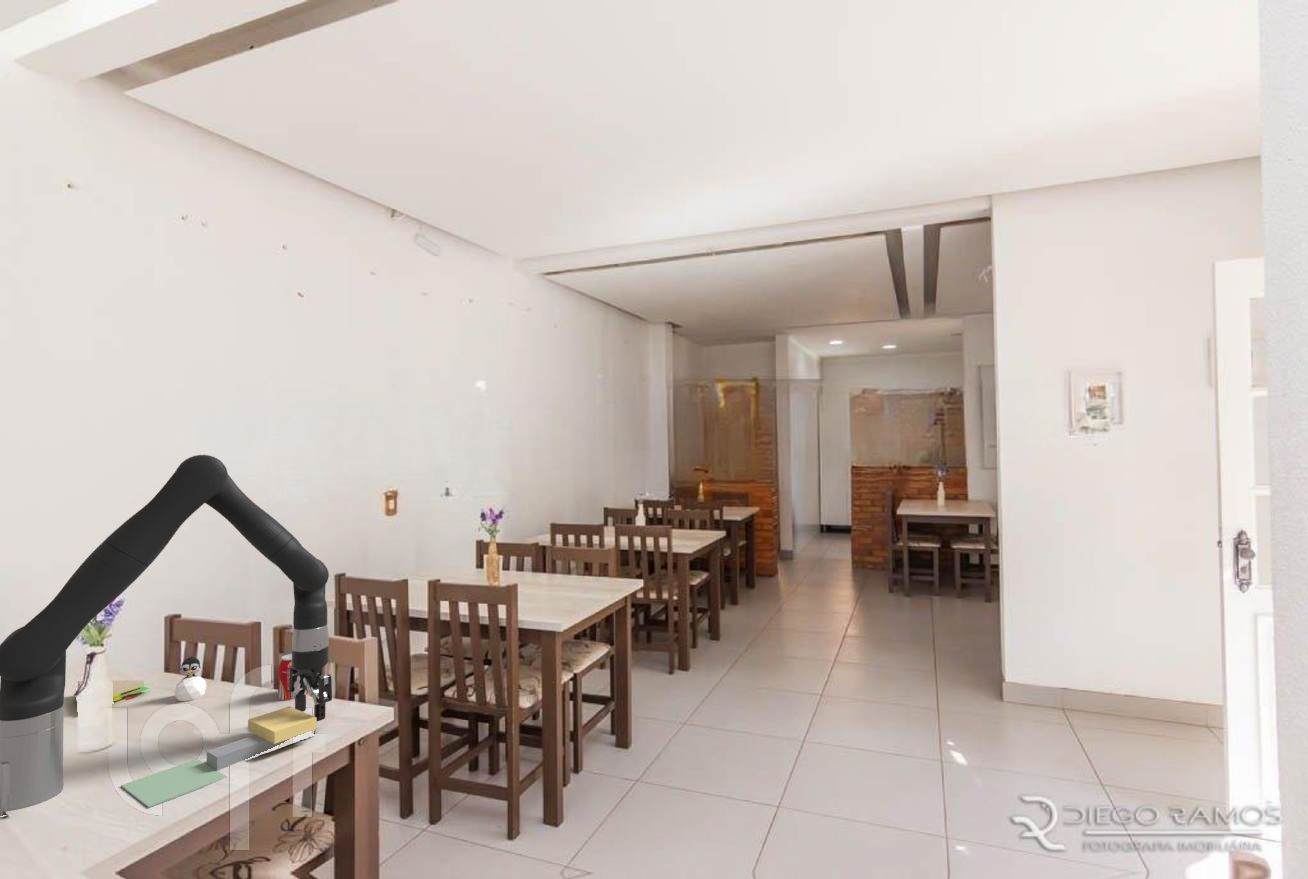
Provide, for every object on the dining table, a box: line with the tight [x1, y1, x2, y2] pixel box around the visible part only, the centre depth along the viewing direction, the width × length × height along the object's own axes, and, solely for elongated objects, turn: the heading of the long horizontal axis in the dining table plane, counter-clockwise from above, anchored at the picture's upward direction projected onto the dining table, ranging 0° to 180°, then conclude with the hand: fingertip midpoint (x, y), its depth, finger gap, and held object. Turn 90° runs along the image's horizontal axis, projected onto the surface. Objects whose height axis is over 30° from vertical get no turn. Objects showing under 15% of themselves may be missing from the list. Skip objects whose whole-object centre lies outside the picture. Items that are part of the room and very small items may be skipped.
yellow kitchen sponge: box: [247, 706, 318, 744], centre depth 145 cm, size 9×12×2 cm
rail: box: [206, 734, 296, 771], centre depth 142 cm, size 20×5×3 cm, turn 146°
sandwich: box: [72, 679, 151, 705], centre depth 172 cm, size 15×20×5 cm
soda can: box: [277, 653, 309, 701], centre depth 169 cm, size 7×7×12 cm
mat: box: [120, 759, 228, 809], centre depth 128 cm, size 13×14×1 cm
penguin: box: [174, 656, 207, 702], centre depth 170 cm, size 7×7×12 cm
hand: (310, 715), depth 150 cm, fingers open, 8 cm apart
